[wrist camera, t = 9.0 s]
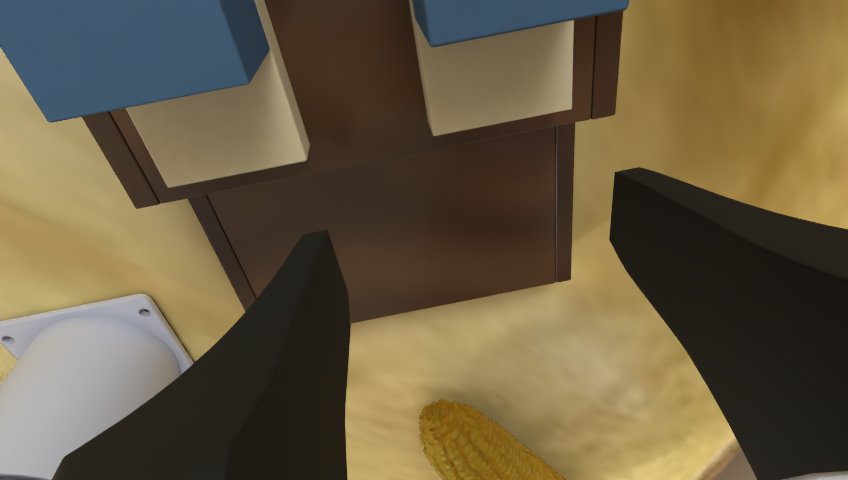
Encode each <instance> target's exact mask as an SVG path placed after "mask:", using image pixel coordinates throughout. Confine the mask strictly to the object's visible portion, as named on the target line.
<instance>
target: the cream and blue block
mask: <svg viewBox="0 0 848 480" xmlns="http://www.w3.org/2000/svg"><path fill="white" fill-rule="evenodd" d="M0 47H1V49H2V50H3V52H4V53H5V55H6V57H7V58H8V60H9V61H10V63H11V64H12V66H13V67H14V69H15V71H16V72H17V74H18V75H19V77H20V78H21V80H22V82H23V83H24V85H25V86H26V88H27V89H28V91H29V93H30V94H31V96H32V97H33V99H34V100H35V102H36V103H37V105H38V107H39V108H40V110H41V111H42V113H43V114H44V116H45V118H46V119H47V121H48V122H57V121H62V120H67V119H72V118H77V117H82V116H87V115H92V114H98V113H103V112H108V111H113V110H118V109H123V108H126V110H127V112H128V114H129V116H130V117H131V119H132V121H133V123H134V125H135V127H136V129H137V131H138V133H139V134H140V136H141V138H142V140H143V142H144V144H145V146H146V148H147V149H148V151H149V153H150V155H151V157H152V159H153V161H154V163H155V164H156V166H157V168H158V170H159V172H160V174H161V176H162V178H163V180H164V181H165V183H166V185H167V187H168V188H171V187H176V186H181V185H186V184H191V183H196V182H202V181H207V180H212V179H217V178H222V177H227V176H232V175H237V174H242V173H247V172H253V171H258V170H263V169H268V168H273V167H278V166H283V165H288V164H293V163H298V162H304V161H306V160H307V157H308V152H309V147H310V143H309V140H308V137H307V134H306V130H305V127H304V124H303V121H302V118H301V115H300V112H299V108H298V105H297V102H296V99H295V96H294V93H293V89H292V86H291V83H290V80H289V77H288V74H287V71H286V67H285V64H284V61H283V58H282V55H281V52H280V48H279V45H278V42H277V39H276V36H275V33H274V30H273V26H272V23H271V20H270V17H269V14H268V11H267V7H266V4H265V1H264V0H0Z"/></svg>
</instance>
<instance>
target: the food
mask: <svg viewBox="0 0 848 480" xmlns="http://www.w3.org/2000/svg"><path fill="white" fill-rule="evenodd" d="M419 418H420V431H421V434H420V439H421V446H424V450H423V451H424V453H425V454H426V456H427V458H428V459H429V461H430V462H431V465H432V466H433V467H435V469H436V471H437V473H438V474H439V475H440V476H441V478H442V479H443V480H565V479H564V478H563V477H562V476H560V475H559V474H558V473H557V472H555V471H554V470H553V469H552V468H551V467H549V466H548V465H547V464H546V463H545V462H544V461H543V460H542V459H540V458H539V457H538V456H537V455H536V454H533V453H532V450H528V449H527V448H526V447H524V446H523V445H521V444H520V443H519V442H518V441H517V440H516V439H514V437H513V436H512V435H510V434H509V433H508V432H507V431H506V430H504V429H503V428H502V427H501V426H499V425H498V424H497V423H496V422H493V421H492V420H490V419H489V418H487V417H486V416H484V415H483V413H480V411H478V410H476V409H474V408H473V407H471V406H468V405H465V404H462V403H458V402H455V401H453V402H449V401H447V400H445V399H443V398H442V399H441V400H439V401H438V402H437V403H435V402H434V401H433V403H432V404H431V405H428V406H426V407H424V409H423V411H422V415H421V416H420V417H419Z"/></svg>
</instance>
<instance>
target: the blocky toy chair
mask: <svg viewBox="0 0 848 480" xmlns="http://www.w3.org/2000/svg"><path fill="white" fill-rule="evenodd" d="M409 4H410V10H411V17H412V23H413V29H414V36H415V42H416V48H417V55H418V61H419V67H420V73H421V80H422V86H423V92H424V99H425V105H426V111H427V118H428V123H429V125H430V128H431V131H432V134H433V136H438V135H443V134H448V133H453V132H458V131H463V130H468V129H473V128H478V127H483V126H489V125H494V124H499V123H504V122H509V121H514V120H519V119H524V118H529V117H534V116H539V115H545V114H550V113H555V112H560V111H565V110H570V109H572V78H573V34H574V20H577V19H582V18H587V17H592V16H597V15H603V14H608V13H613V12H618V11H623V10H625V9H627V8H628V4H629V0H409Z"/></svg>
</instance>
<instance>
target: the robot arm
mask: <svg viewBox="0 0 848 480" xmlns="http://www.w3.org/2000/svg"><path fill="white" fill-rule="evenodd" d="M609 240H610V242H611V244H612V246H613V247H614V249H615V251H616V253H617V255H618V257H619V259H620V261H621V262H622V264H623V266H624V268H625V269H626V271H627V272H628V274H629V275H630V277H631V278H632V279H633V281H634V282H635V283H636V285H637V286H638V287H639V289H640V290H641V291H642V293H643V294H644V295H645V297H646V298H647V299H648V300H649V302H650V303H651V304H652V306H653V307H654V308H655V310H656V311H657V312H658V313H659V315H660V316H661V317H662V319H663V320H664V321H665V323H666V324H667V325H668V327H669V328H670V329H671V330H672V332H673V333H674V334H675V336H676V337H677V338H678V340H679V341H680V343H681V344H682V346H683V347H684V348H685V350H686V351H687V353H688V354H689V356H690V358H691V359H692V361H693V363H694V364H695V366H696V368H697V369H698V371H699V373H700V374H701V376H702V378H703V379H704V381H705V383H706V384H707V386H708V388H709V390H710V391H711V393H712V395H713V397H714V398H715V400H716V402H717V404H718V406H719V407H720V409H721V411H722V413H723V414H724V416H725V418H726V420H727V422H728V423H729V425H730V427H731V429H732V431H733V433H734V435H735V437H736V439H737V441H738V443H739V445H740V447H741V448H742V450H743V452H744V454H745V456H746V458H747V460H748V462H749V464H750V465H751V468H752V470H753V472H754V474H755V476H756V478H757V480H848V229H843V228H838V227H833V226H828V225H823V224H819V223H815V222H811V221H807V220H803V219H798V218H794V217H790V216H786V215H782V214H779V213H775V212H772V211H768V210H765V209H762V208H758V207H755V206H752V205H749V204H745V203H742V202H739V201H736V200H733V199H730V198H727V197H724V196H721V195H718V194H716V193H713V192H710V191H707V190H704V189H702V188H699V187H696V186H693V185H691V184H688V183H685V182H683V181H680V180H677V179H674V178H672V177H669V176H666V175H663V174H660V173H657V172H654V171H651V170H648V169H644V168H640V167H638V168H633V169H628V170H623V171H618V172H615V177H614V189H613V201H612V214H611V226H610V238H609ZM143 309H146V310H148V311H144V310H143ZM0 343H1V344H2V345H3V346H4V347H5V348H6V349H7V350H8V351H9V352H10V353H11V354H12V355H13V356H14V357H15V358H16V359H17V360H18V361H17V363H16V364H15V365H14V367H13V368H12V369H11V371H10V372H9V373H8V375H7V376H6V377H5V379H4V380H3V381H2V383H1V384H0V480H347V462H346V437H345V402H346V388H347V373H348V359H349V343H350V310H349V297H348V290H347V287H346V284H345V281H344V278H343V275H342V272H341V269H340V266H339V263H338V260H337V257H336V254H335V251H334V248H333V245H332V242H331V239H330V236H329V233H328V230H323V231H318V232H313V233H308V234H303V235H302V237H301V238H300V239H299V241H298V242H297V244H296V245H295V247H294V248H293V249H292V251H291V252H290V254H289V255H288V257H287V258H286V260H285V261H284V263H283V264H282V265H281V267H280V268H279V270H278V271H277V272H276V274H275V275H274V277H273V278H272V279H271V281H270V282H269V283H268V285H267V286H266V287H265V289H264V290H263V291H262V292H261V294H260V295H259V296H258V297H257V299H256V300H255V301H254V302H253V303H252V305H251V306H250V307H249V308H248V310H247V311H246V312H245V313H244V314H243V316H242V317H241V318H240V319H239V320H238V321H237V322H236V323H235V324H234V325H233V327H232V328H231V329H230V330H229V331H228V332H227V333H226V334H225V335H224V336H223V337H222V338H221V339H220V340H219V341H218V342H217V343H216V344H215V345H214V346H213V347H212V348H211V349H210V350H209V351H207V352H206V353H205V354H204V355H203V356H202V357H201V358H199V359H198V360H197V361H196V362H195V363H194V362H193V361H192V359H191V358H190V356H189V355H188V353H187V352H186V350H185V349H184V347H183V346H182V344H181V343H180V341H179V340H178V338H177V336H176V335H175V333H174V332H173V330H172V329H171V327H170V326H169V324H168V323H167V321H166V320H165V318H164V317H163V315H162V314H161V312H160V310H159V309H158V307H157V306H156V304H155V303H154V301H153V300H152V299H151V298H150V297H149V296H147V295H145V294H135V295H129V296H124V297H119V298H114V299H109V300H104V301H99V302H94V303H89V304H84V305H79V306H74V307H69V308H64V309H59V310H54V311H48V312H43V313H38V314H33V315H28V316H23V317H18V318H13V319H8V320H3V321H0Z"/></svg>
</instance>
